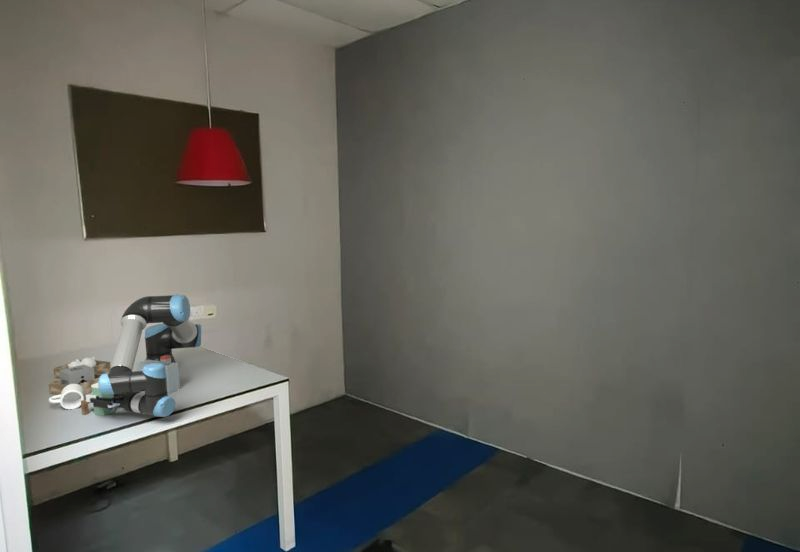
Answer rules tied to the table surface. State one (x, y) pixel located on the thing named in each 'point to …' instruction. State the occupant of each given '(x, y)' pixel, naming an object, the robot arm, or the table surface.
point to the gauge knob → (165, 359)
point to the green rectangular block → (97, 393)
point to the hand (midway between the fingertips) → (93, 395)
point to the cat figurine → (83, 362)
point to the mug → (69, 397)
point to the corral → (100, 369)
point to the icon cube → (76, 375)
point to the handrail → (85, 407)
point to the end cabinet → (171, 373)
